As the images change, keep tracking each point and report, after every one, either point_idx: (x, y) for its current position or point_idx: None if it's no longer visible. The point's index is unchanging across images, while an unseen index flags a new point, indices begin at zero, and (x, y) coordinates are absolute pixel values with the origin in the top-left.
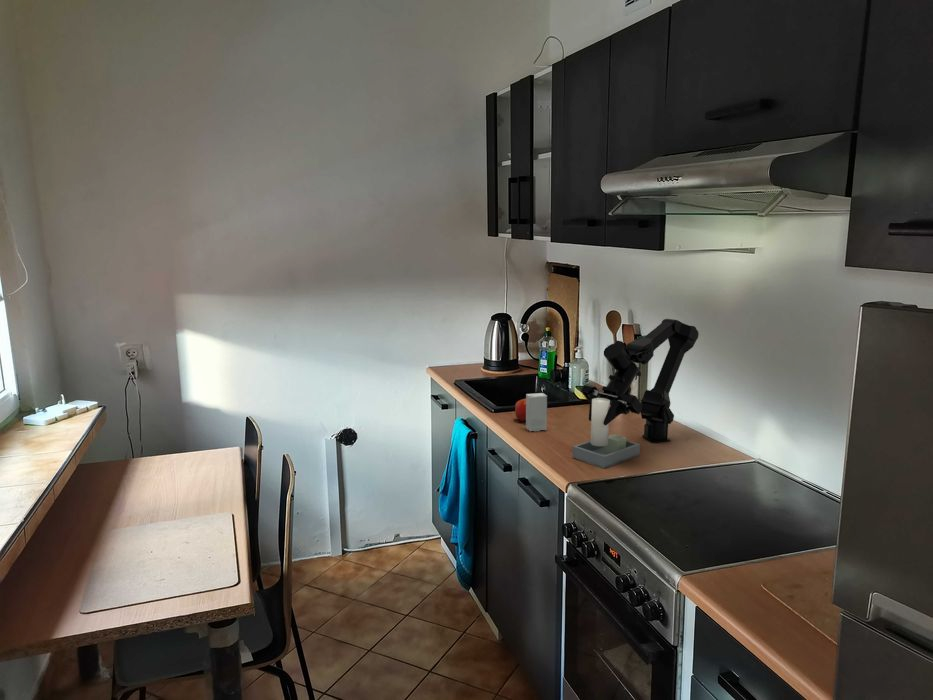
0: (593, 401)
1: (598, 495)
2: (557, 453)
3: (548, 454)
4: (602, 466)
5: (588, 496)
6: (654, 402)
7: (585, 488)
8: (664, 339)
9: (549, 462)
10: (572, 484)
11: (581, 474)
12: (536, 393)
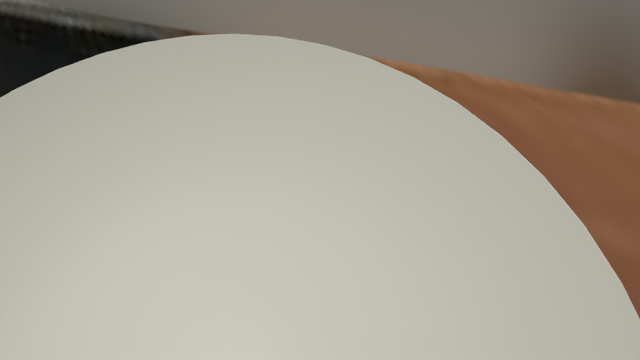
0: (267, 47)
1: (30, 47)
2: (602, 233)
3: (607, 171)
4: None
5: (55, 13)
6: None
7: (110, 47)
8: None
9: (470, 98)
10: (176, 29)
11: None
12: None
